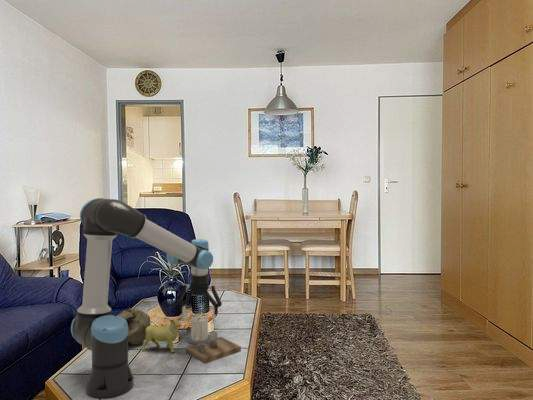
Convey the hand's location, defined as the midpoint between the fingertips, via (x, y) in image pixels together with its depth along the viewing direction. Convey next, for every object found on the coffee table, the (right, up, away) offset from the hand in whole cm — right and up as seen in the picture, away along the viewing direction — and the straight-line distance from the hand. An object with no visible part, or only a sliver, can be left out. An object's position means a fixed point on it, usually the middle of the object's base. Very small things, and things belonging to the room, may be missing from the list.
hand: (198, 321), depth 186 cm
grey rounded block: (0, -8, +1) cm, 8 cm away
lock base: (+8, -9, -12) cm, 17 cm away
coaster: (0, -9, +1) cm, 9 cm away
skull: (-30, -9, -4) cm, 31 cm away
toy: (-13, -9, -12) cm, 20 cm away
